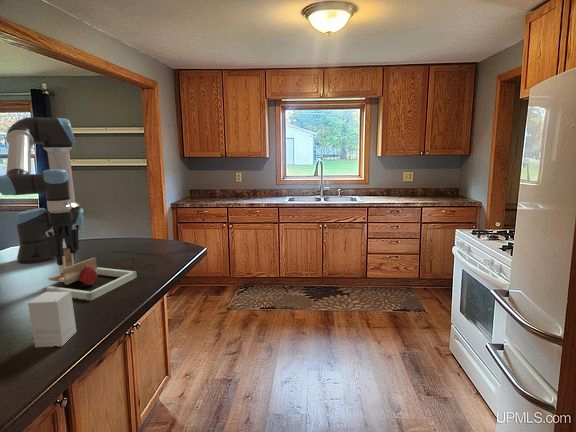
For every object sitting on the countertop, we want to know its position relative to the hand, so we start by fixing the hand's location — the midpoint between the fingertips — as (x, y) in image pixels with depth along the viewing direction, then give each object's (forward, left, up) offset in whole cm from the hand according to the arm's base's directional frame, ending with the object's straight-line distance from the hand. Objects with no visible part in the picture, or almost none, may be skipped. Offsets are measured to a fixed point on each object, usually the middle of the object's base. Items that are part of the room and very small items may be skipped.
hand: (67, 270), depth 140 cm
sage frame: (+12, 0, -5) cm, 13 cm away
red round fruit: (+10, 0, -5) cm, 11 cm away
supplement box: (+33, -35, -5) cm, 49 cm away
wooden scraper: (+2, 0, -2) cm, 3 cm away
